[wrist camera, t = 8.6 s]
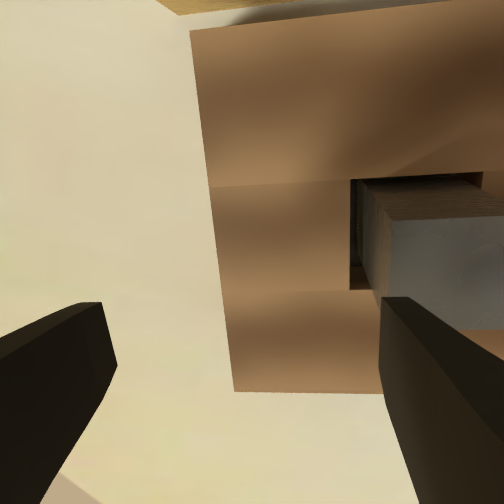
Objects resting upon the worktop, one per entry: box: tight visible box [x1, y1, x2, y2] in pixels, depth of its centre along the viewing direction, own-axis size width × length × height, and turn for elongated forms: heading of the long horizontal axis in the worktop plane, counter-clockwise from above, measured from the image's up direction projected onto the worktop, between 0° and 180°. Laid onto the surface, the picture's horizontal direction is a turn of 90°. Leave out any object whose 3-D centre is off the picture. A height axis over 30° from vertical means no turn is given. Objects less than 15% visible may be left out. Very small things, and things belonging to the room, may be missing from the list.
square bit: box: [357, 173, 504, 330], centre depth 14 cm, size 4×4×7 cm
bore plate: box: [190, 0, 504, 394], centre depth 17 cm, size 16×16×2 cm
